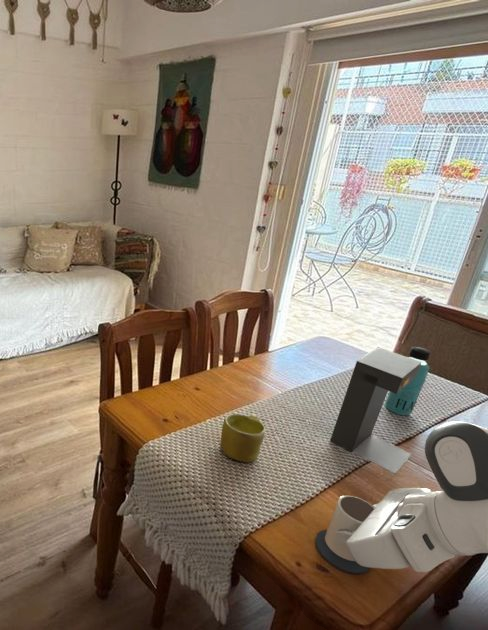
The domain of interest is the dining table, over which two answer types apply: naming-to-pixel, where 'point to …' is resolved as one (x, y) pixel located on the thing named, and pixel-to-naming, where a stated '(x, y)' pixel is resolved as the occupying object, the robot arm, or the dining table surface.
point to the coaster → (337, 557)
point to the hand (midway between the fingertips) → (347, 525)
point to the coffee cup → (346, 522)
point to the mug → (242, 437)
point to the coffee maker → (373, 406)
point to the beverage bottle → (410, 386)
